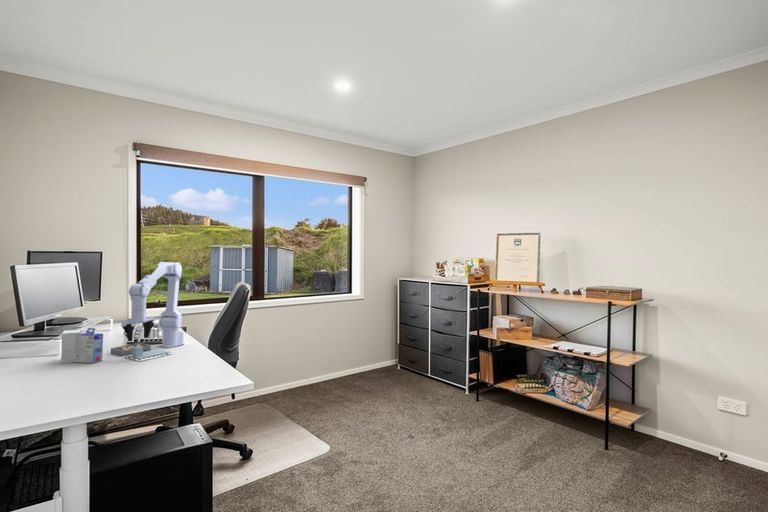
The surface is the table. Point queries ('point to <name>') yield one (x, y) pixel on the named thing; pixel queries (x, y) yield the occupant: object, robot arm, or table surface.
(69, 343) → the small box
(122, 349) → the tub
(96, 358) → the ink cartridge box
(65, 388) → the table surface
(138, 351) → the lid
